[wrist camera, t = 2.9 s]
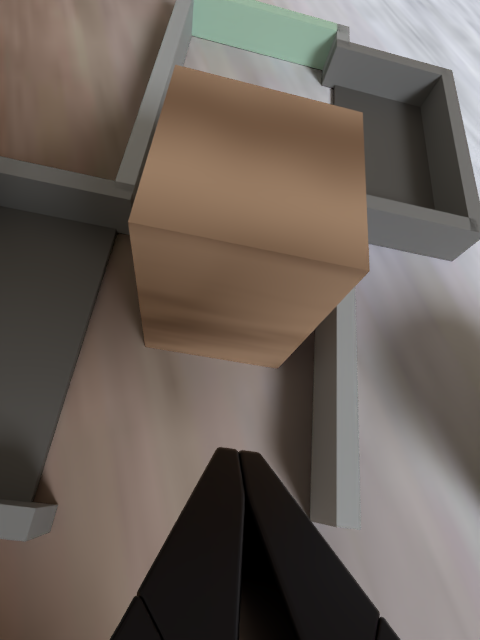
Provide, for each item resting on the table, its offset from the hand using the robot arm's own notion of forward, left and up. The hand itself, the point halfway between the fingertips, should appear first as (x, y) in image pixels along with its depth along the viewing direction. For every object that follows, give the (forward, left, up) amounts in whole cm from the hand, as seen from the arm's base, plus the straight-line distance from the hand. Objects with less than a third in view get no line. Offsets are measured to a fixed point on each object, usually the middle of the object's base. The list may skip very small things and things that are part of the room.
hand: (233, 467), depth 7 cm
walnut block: (+9, +9, -11) cm, 17 cm away
